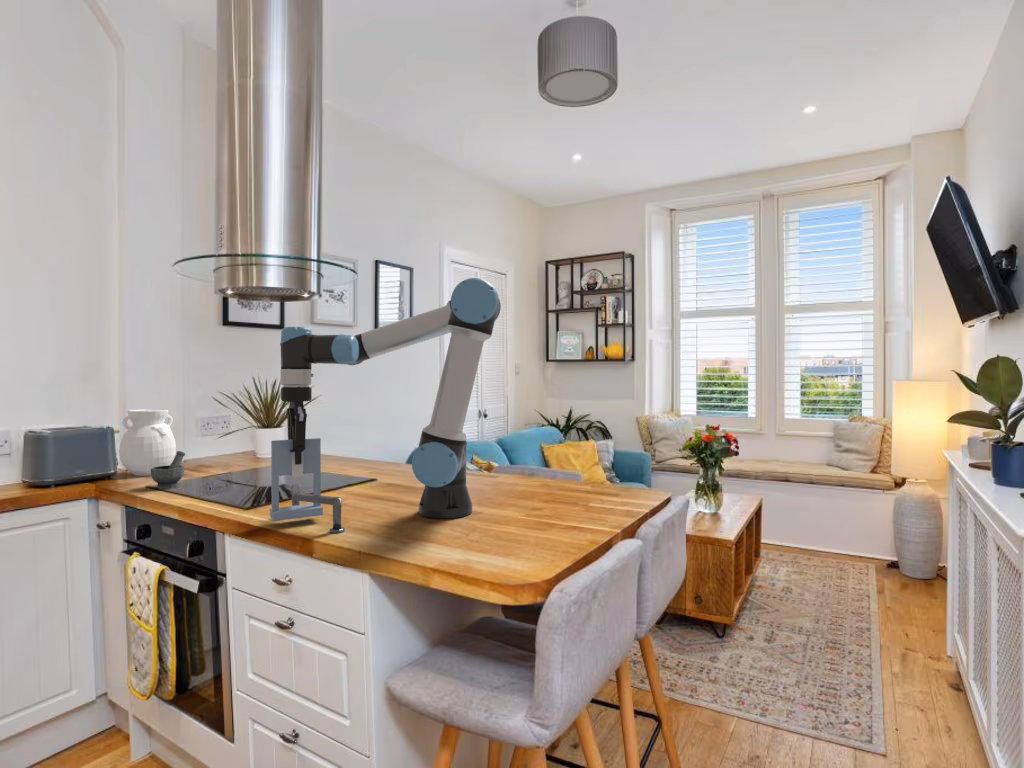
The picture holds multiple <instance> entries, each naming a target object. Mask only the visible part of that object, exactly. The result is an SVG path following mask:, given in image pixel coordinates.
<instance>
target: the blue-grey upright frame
mask: <svg viewBox="0 0 1024 768" xmlns="http://www.w3.org/2000/svg"><path fill="white" fill-rule="evenodd" d="M321 442H322V441H321V438H320V437H316V438H315V437H314V438H305V450H303V475H305V474H313V495H321V493H322V492H321V491H322V490H321V489H322V488H321V485H322V483H321V481H322V478H321V477H322V476H321V475H322V473H321V472H322V471H321V463H322V462H321V459H322V458H321ZM270 443H271V444H270V445H271V446H270V447H271V448H270V449H271V453H270V454H271V456H270V459H271V460H270V461H271V462H270V463H271V465H270V466H271V472H270V473H271V475H270V476H271V478H270V479H271V480H270V481H271V488H270V489H271V508H269V516H270V518H271V519H272V521H274V522H279V521H286V520H287V521H288V520H296V519H304V518H310V517H318V516H323V515H324V513H323V512H324V510H323V509H324V508H323V506H322V504H320V503H308V504H307V503H306V504H305V503H304V504H300V505H296V506H292V505H291V506H290V505H289V506H280V496H279V495H280V488H279V483H280V482H279V480H280V477H283V476H290V475H292V452H290V450H292V449H293V440H288V439H281V440H280V439H279V440H278V439H276V440H271V442H270ZM321 496H322V495H321Z"/></svg>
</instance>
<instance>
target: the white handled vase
mask: <svg viewBox="0 0 1024 768" xmlns="http://www.w3.org/2000/svg"><path fill="white" fill-rule="evenodd" d="M166 419H168V420H167V422H166V423H165V421H166ZM128 420H130V422H131V423H132V425H131V426H130V425H129V424H128ZM173 422H174V419H173V416H172V415H171V414H169V409H167V408H166V409H165V408H163V409H162V408H144V409H143V408H141V409H130V410H127V416H125V417H124V418H123V420H122V423H121V424H122V426H123V427H124V429H126V432H125V433H124V434H123V436H122V439H121V440H120V442H119V443H120V445H119V450H118V455H119V460H120V462H121V464H122V465H123V467H124V468H125V469H126V470H127V471H128V472H130V473H132V474H133V475H134V476H136V477H152V476H151V468H153V467H159V466H168V465H171V463H172V461H173V460H174V458H175V456H176V452H177V451H176V450H177V443H176V439H175V435H174V434H173V431H172V429H171V426H172V424H174V423H173Z"/></svg>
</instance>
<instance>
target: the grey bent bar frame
mask: <svg viewBox="0 0 1024 768" xmlns="http://www.w3.org/2000/svg"><path fill="white" fill-rule="evenodd" d="M300 487H301V485H300V484H292V485H291V506H296V505H301V503H300V502H304V503H311V504H314V503H320V504H321V505H329V506H330V505H331V506H332V527H331V528H329V533H330V534H341V533H344V532H345V530H346V529H345V527H342V497H340V496H328V495H314V494H312V493H304V492H303V493H302V492H301V491H300Z"/></svg>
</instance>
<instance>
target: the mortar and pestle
mask: <svg viewBox="0 0 1024 768" xmlns="http://www.w3.org/2000/svg"><path fill="white" fill-rule="evenodd" d="M185 456H186V453H185V452H184V451H181V450H177V451H176V453H175V456H174V459H173V461H172V462H171V464H170V465H168V466H159V467H153V468H151V476H150V477H151V478H152V479H153V481H154V482H155V483H156V484H157V485H156V489H158V490H169V489H170V490H171V489H176V488H178V487H179V481H180V480H181V479H182V478H183V476H184V473H185V466H184V465H181V464H182V461H183V460H184V459H183V458H184V457H185Z"/></svg>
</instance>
